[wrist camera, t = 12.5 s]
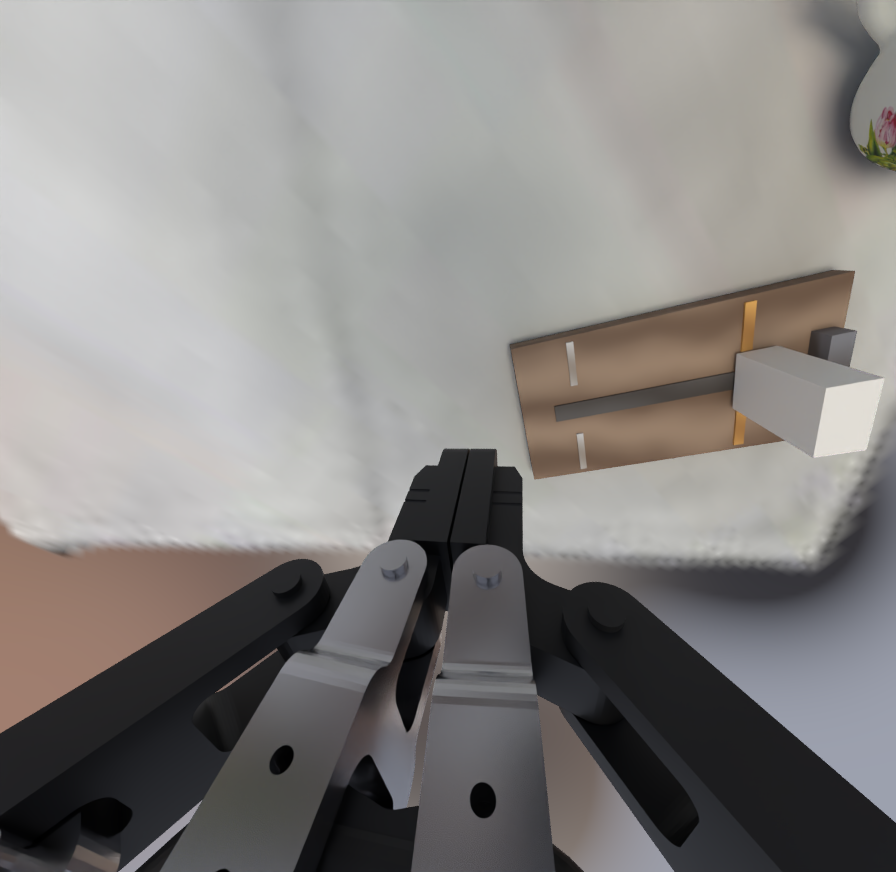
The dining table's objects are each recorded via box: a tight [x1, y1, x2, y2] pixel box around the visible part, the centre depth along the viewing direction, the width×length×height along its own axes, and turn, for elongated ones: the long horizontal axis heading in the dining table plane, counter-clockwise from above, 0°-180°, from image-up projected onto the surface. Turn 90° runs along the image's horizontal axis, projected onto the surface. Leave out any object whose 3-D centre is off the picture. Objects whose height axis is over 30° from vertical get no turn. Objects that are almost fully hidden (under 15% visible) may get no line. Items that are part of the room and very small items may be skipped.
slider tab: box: [732, 346, 885, 458], centre depth 27 cm, size 5×3×9 cm, turn 14°
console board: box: [510, 270, 857, 479], centre depth 33 cm, size 14×26×4 cm, turn 104°
